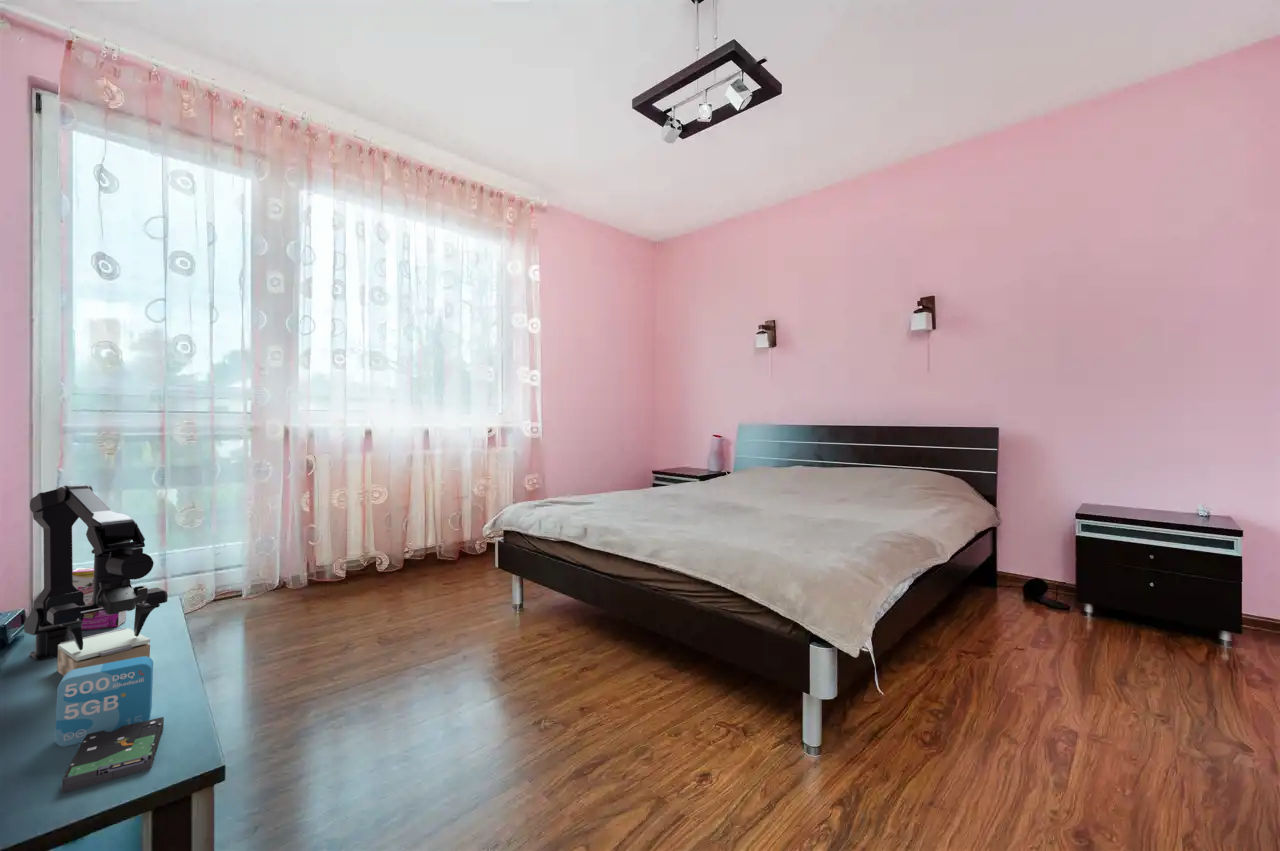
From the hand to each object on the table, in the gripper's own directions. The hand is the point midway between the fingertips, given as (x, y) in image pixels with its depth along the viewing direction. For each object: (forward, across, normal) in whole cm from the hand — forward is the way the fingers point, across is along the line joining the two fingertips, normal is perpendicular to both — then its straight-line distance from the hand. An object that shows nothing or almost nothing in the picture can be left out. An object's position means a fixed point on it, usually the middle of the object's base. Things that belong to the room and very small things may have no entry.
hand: (109, 642), depth 120 cm
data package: (+7, -8, -32) cm, 34 cm away
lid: (+1, 0, +3) cm, 3 cm away
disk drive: (+7, -10, -44) cm, 45 cm away
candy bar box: (+7, +7, +39) cm, 40 cm away
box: (+7, 0, +3) cm, 7 cm away
